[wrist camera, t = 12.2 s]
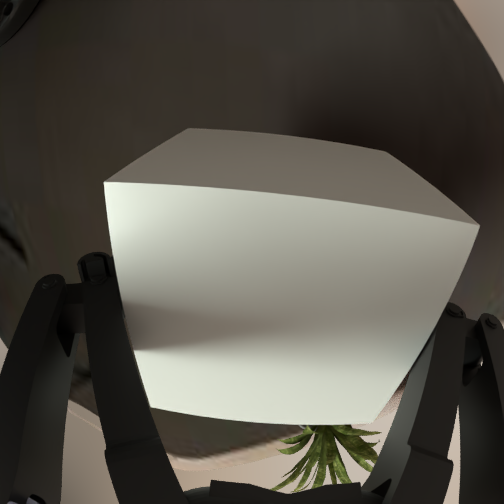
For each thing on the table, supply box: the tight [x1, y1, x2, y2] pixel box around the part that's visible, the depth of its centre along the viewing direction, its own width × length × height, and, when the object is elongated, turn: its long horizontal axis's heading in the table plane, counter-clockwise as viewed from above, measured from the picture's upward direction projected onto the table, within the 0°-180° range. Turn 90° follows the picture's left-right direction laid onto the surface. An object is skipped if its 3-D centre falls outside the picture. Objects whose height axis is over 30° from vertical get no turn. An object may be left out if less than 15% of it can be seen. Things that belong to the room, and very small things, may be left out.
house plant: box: [270, 424, 381, 492], centre depth 29 cm, size 14×14×16 cm
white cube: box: [104, 128, 480, 425], centre depth 13 cm, size 10×10×9 cm
